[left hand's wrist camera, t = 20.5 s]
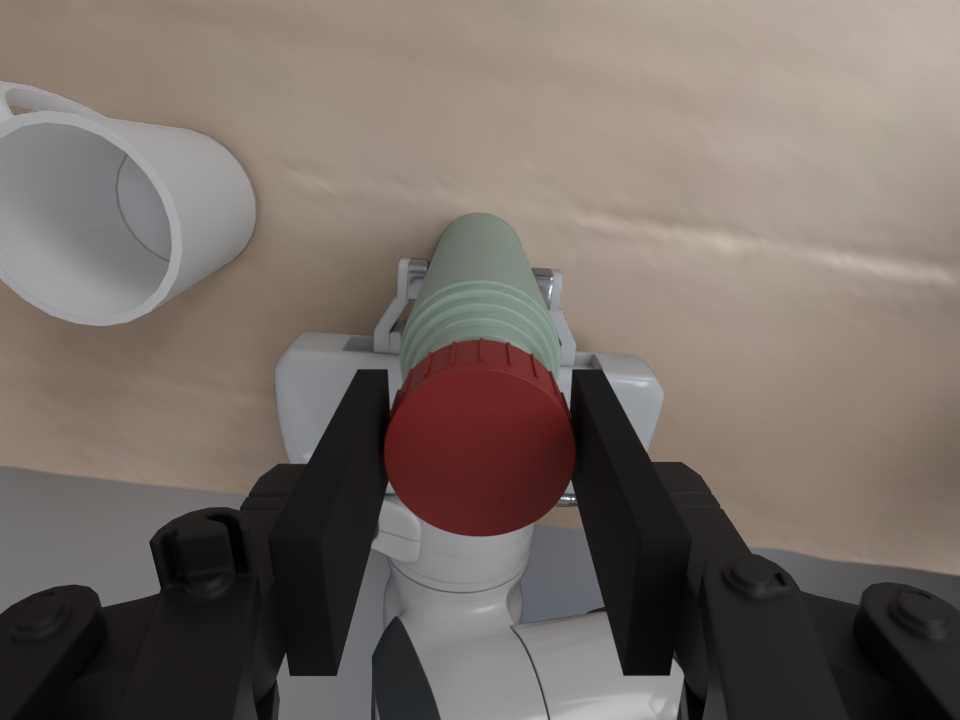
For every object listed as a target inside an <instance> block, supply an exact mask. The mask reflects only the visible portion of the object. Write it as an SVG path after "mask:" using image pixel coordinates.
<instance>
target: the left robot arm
mask: <svg viewBox="0 0 960 720" xmlns="http://www.w3.org/2000/svg"><path fill="white" fill-rule="evenodd" d="M389 413H390V398H389V382H388V369H358V370H357V372H356V373H355V375H354V377H353V379H352V381H351V383H350V385H349V387H348V388H347V390H346V392H345V394H344V396H343V398H342V400H341V402H340V403H339V405H338V407H337V409H336V411H335V413H334V415H333V417H332V418H331V420H330V422H329V424H328V426H327V428H326V430H325V432H324V434H323V435H322V437H321V439H320V441H319V443H318V445H317V447H316V449H315V450H314V452H313V454H312V456H311V458H310V460H309V462H308V464H278V465H276V466H275V467H274V468H272V469H271V470H269V471H268V472H267V473H265V474H264V475H262V476H261V477H260V478H259V479H258V481H257V482H256V484H255V485H254V487H253V488H252V490H251V491H250V493H249V497H247V498H246V499H245V501H244V502H243V504H242V505H241V507H240V511H239V510H235V509H231V508H227V507H216V508H206V509H201V510H197V511H193V512H189V513H187V514H185V515H183V516H180V517H178V518H176V519H173V520H172V521H170V522H169V523H168V524H166V525H165V526H163V527H162V528H161V529H159V530H158V531H157V532H156V534H155V535H154V536H153V538H152V539H151V540H150V542H149V543H150V547H151V551H152V555H153V559H154V563H155V567H156V571H157V574H158V578H159V582H160V586H161V590H160V593H159V594H156V595H152V596H149V597H146V598H142V599H137V600H133V601H129V602H124V603H120V604H115V605H111V606H107V607H102V606H101V603H100V600H99V596H98V594H97V593H96V592H95V591H93V590H92V589H91V588H90V587H86V586H80V585H67V586H58V587H53V588H50V589H47V590H44V591H41V592H38V593H35V594H32V595H31V596H29V597H27V598H25V599H23V600H21V601H19V602H17V603H16V604H14V605H12V606H10V607H9V608H8V609H7V610H5V611H4V612H3V613H1V614H0V720H278V712H279V702H280V699H279V692H278V685H277V680H276V677H277V674H278V672H279V669H280V666H281V664H282V661H283V658H284V656H285V653H286V654H287V660H288V666H289V672H290V676H337V672H338V669H339V665H340V661H341V657H342V654H343V650H344V646H345V642H346V639H347V635H348V631H349V628H350V624H351V620H352V616H353V613H354V609H355V605H356V601H357V598H358V594H359V590H360V586H361V583H362V579H363V575H364V572H365V568H366V564H367V560H368V556H369V553H370V549H371V545H372V542H373V538H374V534H375V530H376V527H377V523H378V519H379V515H380V512H381V508H382V504H383V501H384V497H385V493H386V489H387V486H388V482H389V479H388V476H387V473H386V469H385V464H384V453H383V450H384V437H385V434H386V430H387V427H388V424H389V421H390V418H389ZM570 414H571V417H572V420H571V421H570V422H571V426H572V429H573V432H574V437H575V440H576V464H575V468H574V472H573V476H572V478H571V482H572V486H573V489H574V493H575V497H576V501H577V504H578V508H579V512H580V515H581V519H582V523H583V527H584V530H585V534H586V538H587V542H588V545H589V549H590V553H591V557H592V560H593V564H594V568H595V572H596V575H597V579H598V583H599V587H600V590H601V594H602V598H603V601H604V605H605V609H606V613H607V616H608V620H609V624H610V628H611V631H612V635H613V639H614V643H615V646H616V650H617V654H618V658H619V661H620V665H621V669H622V672H623V676H670V673H671V666H672V660H673V654H674V650H675V653H676V656H677V658H678V661H679V663H680V666H681V669H682V671H683V674H684V680H683V685H682V691H681V697H680V702H679V708H678V714H677V719H676V720H960V611H959V610H958V609H956V608H955V607H954V606H952V605H951V604H950V603H948V602H946V601H944V600H942V599H941V598H939V597H937V596H935V595H933V594H931V593H929V592H927V591H924V590H921V589H918V588H915V587H912V586H909V585H905V584H897V583H889V582H884V583H878V584H872V585H870V586H869V587H868V588H867V589H866V590H865V591H863V593H862V596H861V600H860V603H859V605H855V604H851V603H846V602H842V601H837V600H833V599H829V598H824V597H820V596H816V595H812V594H809V593H806V592H802V591H800V589H799V587H798V586H797V584H796V582H795V581H794V580H793V578H792V576H791V575H790V574H789V573H787V572H786V571H785V570H784V569H782V568H781V567H780V566H779V565H778V564H776V563H774V562H772V561H770V560H768V559H766V558H764V557H762V556H759V555H756V554H752V553H751V552H750V550H749V549H748V547H747V545H746V544H745V542H744V541H743V539H742V538H741V536H740V535H739V533H738V532H737V530H736V529H735V527H734V526H733V524H732V523H731V521H730V520H729V518H728V517H727V515H726V513H725V512H724V510H723V509H720V504H719V503H718V501H717V500H716V498H715V497H714V495H711V491H710V489H709V488H708V486H707V485H706V483H705V482H704V480H703V478H702V477H701V476H700V475H699V474H697V473H696V472H695V471H693V470H692V469H691V468H689V467H688V466H686V465H685V464H684V463H682V462H651V460H650V458H649V456H648V454H647V452H646V450H645V449H644V447H643V445H642V443H641V441H640V439H639V437H638V435H637V434H636V432H635V430H634V428H633V426H632V424H631V422H630V420H629V419H628V417H627V415H626V413H625V411H624V409H623V407H622V405H621V403H620V402H619V400H618V398H617V396H616V394H615V392H614V390H613V388H612V387H611V385H610V383H609V381H608V379H607V377H606V375H605V373H604V372H603V370H602V369H572V382H571V398H570Z"/></svg>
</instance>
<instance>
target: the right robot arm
mask: <svg viewBox="0 0 960 720" xmlns="http://www.w3.org/2000/svg"><path fill="white" fill-rule="evenodd" d="M429 266H430V260H426V259H415V258H402V257H401V259H400V260H399V264H398V271H397V293H396V295H395V297H394V298H393V300H392V301H391V303H390V304H389V306H388V308H387V309H386V311H385V312H384V314H383V315H382V317H381V318H380V320H379V322H378V324H377V326H376V327H375V329H374V336H366V335H352V334H338V333H325V332H309V331H308V332H304V333H302V334H300V335H299V336H298V337H297V338H296V339H295V340H294V341H293V342H291V343H290V344H289V345H288V346H287V347H286V348H285V350H284V351H283V352H282V353H281V355H280V356H279V358H278V360H277V362H276V365H275V369H274V384H275V396H276V405H277V412H278V418H279V424H280V430H281V434H282V439H283V444H284V448H285V451H286V455H287V457H288V460H289V462H290V464H308V462H309V460H310V458H311V456H312V454H313V452H314V450H315V449H316V447H317V445H318V443H319V441H320V439H321V437H322V435H323V434H324V432H325V430H326V428H327V426H328V424H329V422H330V420H331V418H332V417H333V415H334V413H335V411H336V409H337V407H338V405H339V403H340V402H341V400H342V398H343V396H344V394H345V392H346V390H347V388H348V387H349V385H350V383H351V381H352V379H353V377H354V375H355V373H356V372H357V370H358V369H388V382H389V398H390V410H391V407H392V404H393V401H394V398H395V395H396V392H397V390H398V389H399V390H400V389H401V386H402V384H403V381H402V377H401V371H400V362H399V349H400V341H401V338H402V334H403V331H404V328H405V326H406V322H405V321H404V320H397V319H398V317H399V316H400V314H401V313H402V311H403V309H404V308H405V306H406V305H407V303H408V302H409V300H410V299H412V300H416V298H417V296H418V293H419V291H420V288H421V286H422V283H423V281H424V278H425V276H426V273H427V271H428V268H429ZM532 272H533V274H534V277H535V279H536V282H537V284H538V287H539V289H540V292H541V294H542V297H543V299H544V302H545V304H546V307H547V309H548V312H549V314H550V317H551V319H552V322H553V324H554V327H555V329H556V332H557V335H558V339H559V344H560V367H559V375H558V380H557V385H558V387H559V390H560V392H563V393H564V396H565V399H566V402H567V405H568V408H569V411H570V398H571V382H572V369H602V370H603V372H604V373H605V375H606V377H607V379H608V381H609V383H610V385H611V387H612V388H613V390H614V392H615V394H616V396H617V398H618V400H619V402H620V403H621V405H622V407H623V409H624V411H625V413H626V415H627V417H628V419H629V420H630V422H631V424H632V426H633V428H634V430H635V432H636V434H637V435H638V437H639V439H640V441H641V443H642V445H643V447H644V449H645V450H646V452H647V451H648V448H649V446H650V443H651V440H652V437H653V435H654V432H655V429H656V426H657V423H658V419H659V416H660V412H661V409H662V405H663V401H664V390H663V386H662V384H661V382H660V380H659V379H658V377H657V376H656V374H655V373H654V371H653V370H652V369H651V368H650V366H649V365H648V364H647V363H646V362H645V361H644V360H643V359H642V358H641V357H639V356H636V355H625V354H611V353H597V352H584V351H576V346H577V345H576V343H575V341H574V338H573V336H572V334H571V331H570V329H569V327H568V325H567V322H566V320H565V318H564V315H563V313H562V311H561V309H560V301H561V293H562V285H563V274H562V272H561V271H560V270H559V269H546V268H532ZM396 320H397V321H396ZM555 506H560V507H569V506H570V507H571V506H578V504H577V501H576V497H575V493H574V489H573V486H572V482H571V481H570V483H569V485H568V487H567V489H566V491H565V493H564V494H563V496H562V497H561V498H560V500H559V501H558V502H557V504H556V505H555ZM534 525H535V522H533V523H532V524H530V525H528V526H526V527H524V528H521V529H519V530H516V531H513V532H510V533H507V534H502V535H497V536H488V537H472V536H463V535H458V534H453V533H449V532H446V531H444V530H441V529H438V528H436V527H434V526H432V525H430V524H428V523H426V522H425V521H423V520H422V519H420V518H418V517H417V516H416V515H415V514H414V513H412V512H411V511H410V510H409V509H408V508H407V507H406V506H405V505H404V504H403V503H402V501H401V500H400V499H399V497H398V496H397V495H396V493H395V491H394V489H393V488H392V486H391V484H390V482H388V486H387V489H386V493H385V497H384V501H383V504H382V508H381V512H380V515H379V519H378V523H377V527H376V530H375V534H374V538H373V542H372V545H371V549H374V550H376V551H378V552H381V553H383V554H385V555H386V557H387V560H388V563H389V566H390V569H391V574H390V577H389V579H388V582H387V585H386V588H385V594H384V633H383V634H382V636H381V638H380V641H379V643H378V645H377V647H376V649H375V651H374V653H373V655H372V706H371V720H676V719H677V714H678V708H679V702H680V697H681V691H682V685H683V680H684V674H683V671H682V669H681V666H680V663H679V661H678V658H677V656H676V653H675V650H674V654H673V660H672V666H671V673H670V676H623V672H622V669H621V665H620V661H619V658H618V654H617V650H616V646H615V643H614V639H613V635H612V631H611V628H610V624H609V620H608V616H607V613H606V609H605V607H602V608H599V609H595V610H592V611H590V612H587V613H586V614H580V615H574V616H568V617H562V618H556V619H549V620H543V621H537V622H531V623H525V624H521V620H522V613H523V594H522V589H521V585H520V581H521V578H522V576H523V574H524V573H525V571H526V569H527V566H528V563H529V559H530V554H531V547H532V540H533V532H534Z"/></svg>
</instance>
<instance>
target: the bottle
mask: <svg viewBox="0 0 960 720" xmlns="http://www.w3.org/2000/svg"><path fill="white" fill-rule="evenodd" d="M480 338H483V340H491V341H498V342H502V343H507V342H509V343H510V345H512V346H515V347H517V348H520V349H522V350H523V351H525V352H527V353H529V354H531V353H532V354H534V357H535V358H536V359H537V360H538V361H539V362H540V363H541V364H542V365H543V366H544V367H546V368H547V370H548V371H550V370H551V371H552V373H553V376H554V379H555V381H556V383H557V380H558V375H559V367H560V344H559V339H558V335H557V332H556V329H555V327H554V324H553V322H552V319H551V317H550V314H549V312H548V309H547V307H546V304H545V302H544V299H543V297H542V294H541V292H540V289H539V287H538V284H537V282H536V279H535V277H534V274H533V272H532V269H531V267H530V264H529V262H528V259H527V257H526V254H525V252H524V250H523V247H522V245H521V242H520V240H519V238H518V236H517V234H516V232H515V231H514V229H513V228H512V227H511V226H510V225H509V224H508V223H506V222H505V221H504V220H502V219H501V218H498V217H496V216H493V215H490V214H485V213H475V214H469V215H466V216H463V217H461V218H459V219H457V220H456V221H454V222H453V223H452V224H451V225H450V226H449V227H448V228H447V229H446V230H445V231H444V233H443V235H442V236H441V238H440V241H439V243H438V246H437V248H436V251H435V253H434V256H433V258H432V261H431V263H430V266H429V268H428V271H427V273H426V276H425V278H424V281H423V283H422V286H421V288H420V291H419V293H418V296H417V298H416V301H415V303H414V306H413V308H412V311H411V313H410V316H409V318H408V321H407V323H406V326H405V328H404V331H403V334H402V338H401V341H400V349H399V362H400V371H401V377H402V381H403V383H404V381H405V379H406V377H407V375H408V372H409V370H410V369H411V368H412V369H413V368H414V367H415V366H416V365H417V364H418V363H419V362H420V361H421V360H423V359H424V358H425V357H427V356H428V353H429V352H432V353H433V352H435V351H436V350H438V349H440V348H442V347H445V346H448V345H450V344H452V343H453V342H454V341H456V343H458V342H462V341H468V340H480Z"/></svg>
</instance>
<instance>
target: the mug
mask: <svg viewBox="0 0 960 720" xmlns="http://www.w3.org/2000/svg"><path fill="white" fill-rule="evenodd" d="M8 106H16V107H21V108H25V109H28V110H32V111H36V112H32V113H26V114H20V115H15V116H14V115H13V113H12V112H11V110H10V108H9V107H8ZM256 222H257V199H256V195H255V192H254V189H253V185H252V182H251V180H250V178H249V176H248V174H247V173H246V171H245V169H244V167H243V165H242V164H241V163H240V161H239V160H238V159H237V158H236V157H235V156H234V155H233V154H232V153H231V152H230V150H229V149H228V148H226V147H225V146H223V145H222V144H221V143H219V142H218V141H216V140H215V139H213V138H212V137H210V136H208V135H205V134H202V133H200V132H197V131H195V130H192V129H183V128H176V127H169V126H162V125H154V124H147V123H140V122H133V121H126V120H118V119H111V118H107V117H105V116H103V115H101V114H99V113H97V112H95V111H94V110H92V109H90V108H88V107H86V106H84V105H81V104H79V103H76V102H74V101H71V100H69V99H67V98H64V97H62V96H59V95H57V94H54V93H51V92H48V91H44V90H41V89H38V88H35V87H32V86H29V85H23V84H16V83H10V82H4V81H0V278H1V279H2V281H4V282H5V283H6V284H7V285H8V286H9V287H10V288H12V289H13V290H14V291H15V292H16V293H17V294H18V295H19V296H21V297H22V298H23V299H24V300H25V301H27V302H29V303H31V304H32V305H34V306H36V307H37V308H39V309H41V310H43V311H44V312H46V313H48V314H49V315H52V316H55V317H58V318H61V319H64V320H67V321H70V322H73V323H76V324H85V325H95V326H108V325H114V324H121V323H127V322H130V321H132V320H134V319H136V318H138V317H140V316H142V315H144V314H146V313H149V312H151V311H153V310H154V309H156V308H157V307H159V306H161V305H162V304H164V303H165V302H167V301H169V300H170V299H172V298H173V297H175V296H176V295H178V294H180V293H181V292H183V291H184V290H186V289H188V288H189V287H191V286H192V285H194V284H195V283H197V282H199V281H200V280H202V279H203V278H205V277H207V276H208V275H210V274H211V273H213V272H215V271H216V270H218V269H219V268H221V267H222V266H224V265H226V264H227V263H229V262H230V261H232V260H234V259H235V258H236V257H237V256H238V255H239V254H240V253H241V252H242V251H243V250H245V248H246V247H247V245H248V243H249V241H250V240H251V238H252V236H253V234H254V230H255V226H256Z"/></svg>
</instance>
